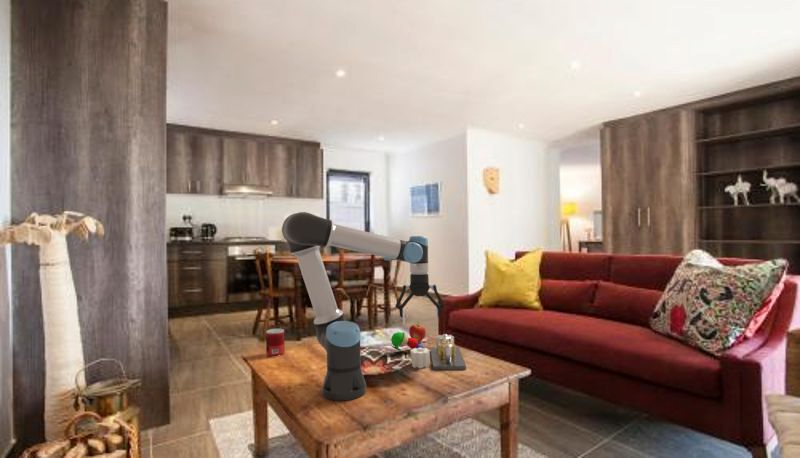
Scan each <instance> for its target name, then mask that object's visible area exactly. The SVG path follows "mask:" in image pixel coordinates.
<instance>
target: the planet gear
mask: <svg viewBox="0 0 800 458" xmlns="http://www.w3.org/2000/svg"><path fill="white" fill-rule="evenodd" d="M411 359H412V362H413V363H412V368H414V369H416V368H418V369H423V368H425V369H426V368H428V367H429V366H431V349H428V348H427V347H424V349H423V348H417V349H416V348H414V349H410V360H411Z"/></svg>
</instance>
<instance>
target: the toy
mask: <svg viewBox="0 0 800 458" xmlns="http://www.w3.org/2000/svg"><path fill="white" fill-rule="evenodd" d="M390 339H391V341H390V342H391V344H392V345H391V344H390V346H391V348H393V349H395V350H397V351H399V350H401V349H400V348H402V347H405V346H408V347H409V348H410V350H412V349H414V348H416V349H417V348H423V349H424V348H425V347H424V346H423V345H421V344H420V343H419V341H418V340H417V339H414V338H411V337H408V335H407V333H406V332H405V331H404V332H401V331H397V332H394V334H392V336H391V338H390Z"/></svg>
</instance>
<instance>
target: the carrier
mask: <svg viewBox="0 0 800 458" xmlns="http://www.w3.org/2000/svg"><path fill="white" fill-rule="evenodd" d="M435 337H436V338H435V340H436V344H435V345H436V347H430V349H429V350H430V358H431V364H432V369H433V371H453V370H454V371H461V370H462V371H463V370H465V371H466V370H467V365H466V362H465V360H464V357H463V355H462V352H461V349H460V347H459V346H457V347H456V344H455V337H454V336H453V335H452V334H447V333H444V334H439V335H437V336H435Z"/></svg>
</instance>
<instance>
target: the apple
mask: <svg viewBox="0 0 800 458" xmlns="http://www.w3.org/2000/svg"><path fill="white" fill-rule="evenodd" d="M408 329H409V330H408V331H409V332H408V333H409V336H410V337H409V338H414V339H417V340H418V342H421V341H423V340H424V339H425V336H426V332H427V331H426V328H425V326H424V325H422V324H419V323H415V324H412V325H411V326H410V327H409V328H408Z"/></svg>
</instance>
